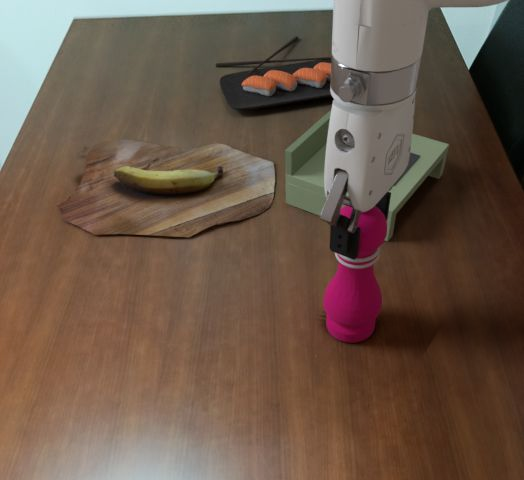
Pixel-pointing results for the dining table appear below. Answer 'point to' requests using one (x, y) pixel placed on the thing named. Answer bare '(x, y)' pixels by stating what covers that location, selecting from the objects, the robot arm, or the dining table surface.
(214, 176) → the cutting board
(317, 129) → the shelf
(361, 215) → the pepper mill
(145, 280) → the dining table surface
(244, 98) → the sushi plate
